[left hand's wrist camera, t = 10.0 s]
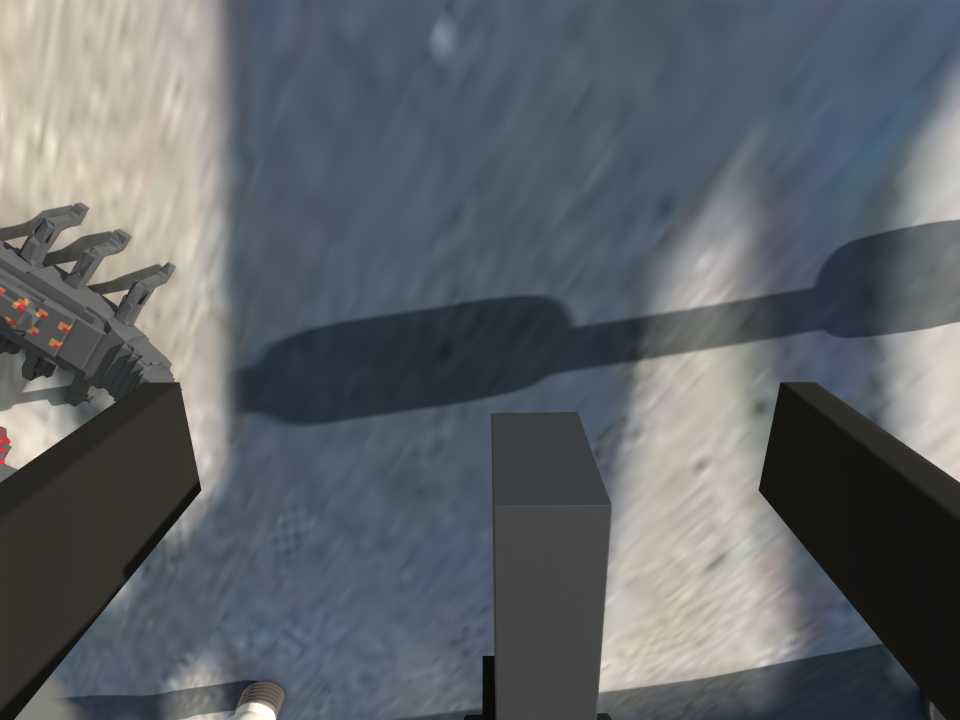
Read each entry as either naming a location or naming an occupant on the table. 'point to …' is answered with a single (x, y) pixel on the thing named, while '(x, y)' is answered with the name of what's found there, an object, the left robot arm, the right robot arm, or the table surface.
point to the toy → (74, 319)
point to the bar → (547, 566)
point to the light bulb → (259, 702)
